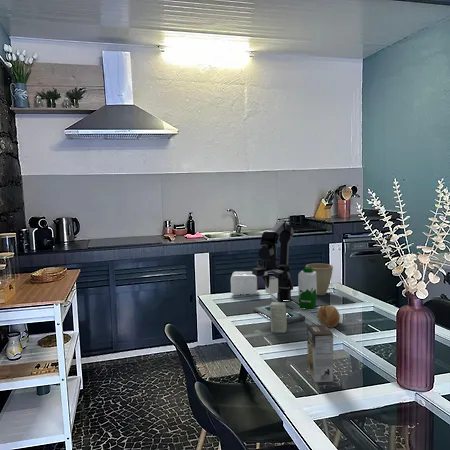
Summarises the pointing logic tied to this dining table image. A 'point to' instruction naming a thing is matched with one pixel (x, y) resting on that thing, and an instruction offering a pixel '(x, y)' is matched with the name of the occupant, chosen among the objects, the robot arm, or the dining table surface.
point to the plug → (272, 285)
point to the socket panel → (294, 315)
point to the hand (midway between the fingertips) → (271, 287)
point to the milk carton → (307, 288)
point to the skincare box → (278, 317)
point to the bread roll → (328, 315)
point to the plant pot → (322, 276)
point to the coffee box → (320, 352)
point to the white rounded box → (243, 283)
